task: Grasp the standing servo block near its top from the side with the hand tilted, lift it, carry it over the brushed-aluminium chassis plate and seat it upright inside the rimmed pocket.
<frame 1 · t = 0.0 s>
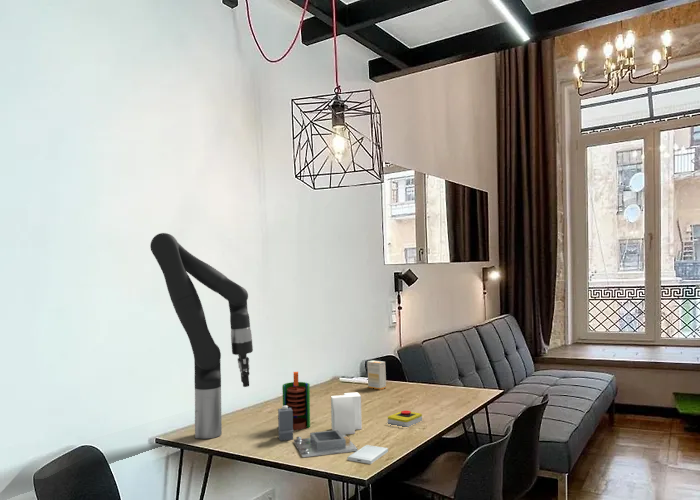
hand: (245, 384, 198), 17 cm above the table, tool pointing down, fingers open, 8 cm apart
emergency button: (404, 424, 204), on the table
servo: (285, 438, 188), on the table
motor: (296, 427, 202), on the table
supplement box: (377, 388, 264), on the table
corner bracket: (346, 430, 197), on the table
hard drive: (368, 457, 169), on the table
chassis: (324, 446, 178), on the table
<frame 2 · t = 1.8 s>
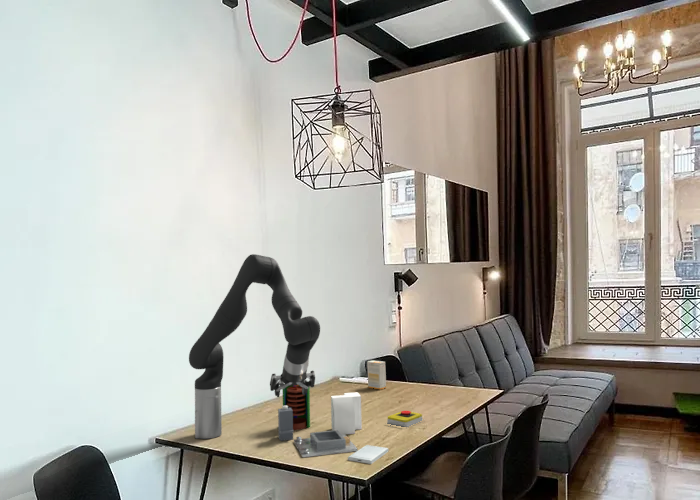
hand: (290, 393, 177), 18 cm above the table, tool tilted 45°, fingers open, 8 cm apart
nothing on the table moved.
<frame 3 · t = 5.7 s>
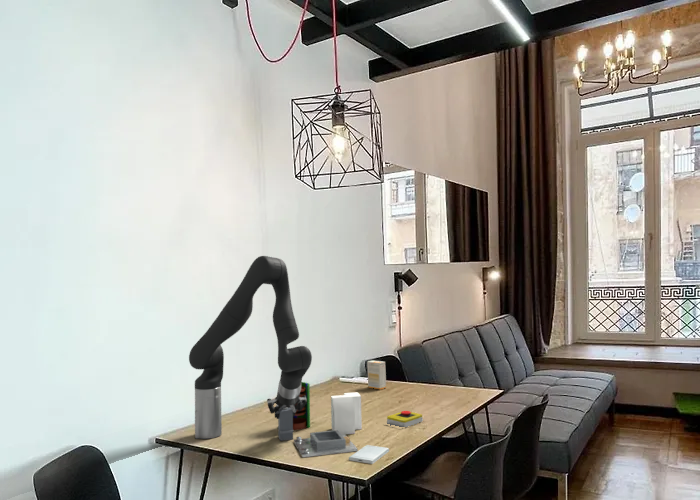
hand: (284, 415, 190), 7 cm above the table, tool tilted 45°, fingers closed on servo, 4 cm apart
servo: (285, 438, 188), on the table, touching gripper
everything else where it was.
when the fingers open (9 cm above the table, at t = 11.4 s): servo drops 1 cm, resting on chassis.
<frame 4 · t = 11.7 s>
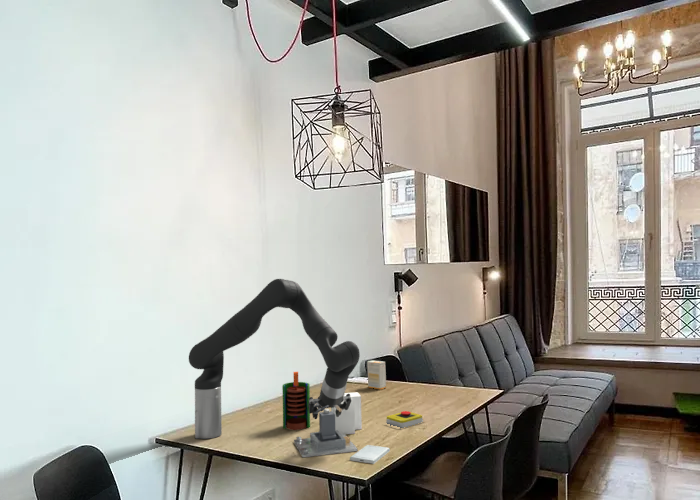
hand: (326, 415, 180), 10 cm above the table, tool tilted 45°, fingers open, 7 cm apart
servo: (327, 443, 179), point 1 cm above the table, touching chassis
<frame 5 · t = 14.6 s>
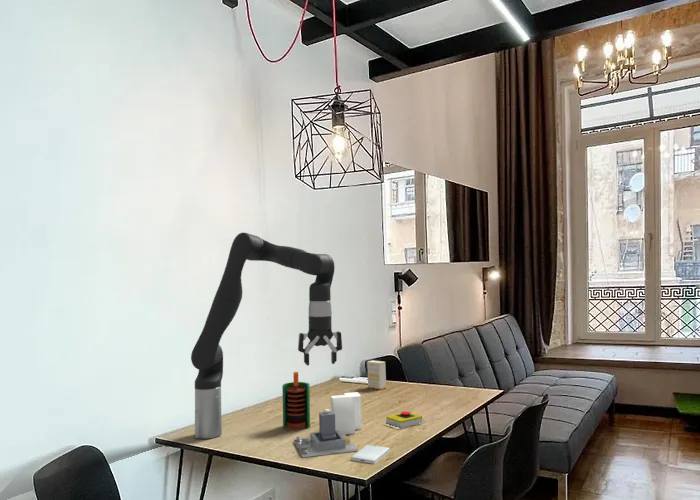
hand: (320, 364, 176), 28 cm above the table, tool pointing down, fingers open, 8 cm apart
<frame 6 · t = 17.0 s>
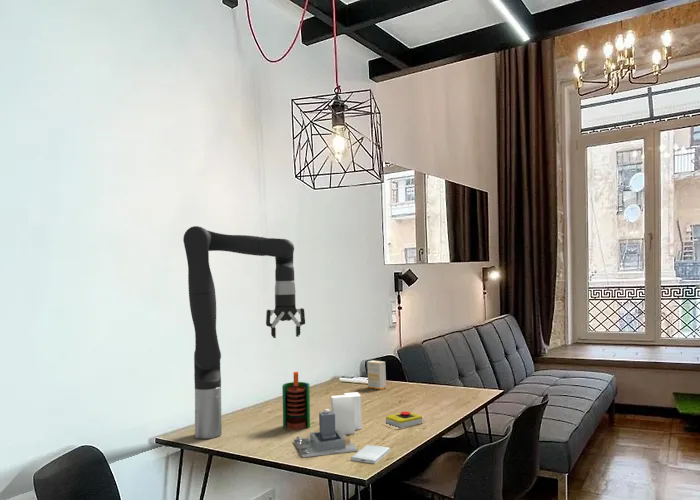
hand: (285, 337, 198), 34 cm above the table, tool pointing down, fingers open, 8 cm apart
at the end: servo inside the target area on the chassis (0.1 cm from its centre), point 0.8 cm above the chassis's base; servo tilted 0°; the gripper is holding nothing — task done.
